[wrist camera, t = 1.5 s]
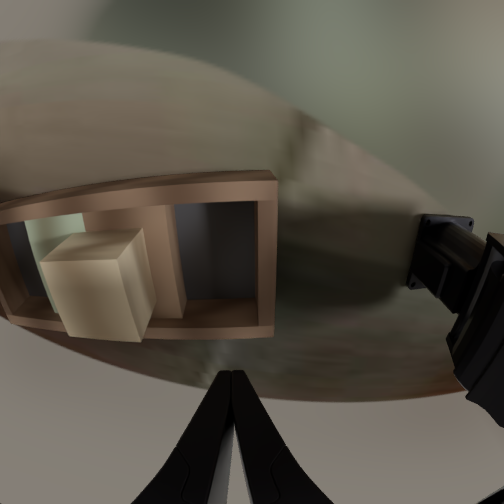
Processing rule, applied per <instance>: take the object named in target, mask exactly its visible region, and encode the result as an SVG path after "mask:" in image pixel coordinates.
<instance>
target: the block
mask: <svg viewBox="0 0 504 504" xmlns="http://www.w3.org/2000/svg"><path fill="white" fill-rule="evenodd" d="M40 265H41V268H42V271H43V274H44V277H45V279H46V282H47V285H48V288H49V290H50V293H51V296H52V298H53V301H54V303H55V306H56V308H57V310H58V313H59V315H60V317H61V319H62V322H63V324H64V326H65V328H66V330H67V333H68V335H69V336H73V337H81V338H91V339H101V340H113V341H127V342H142V339H143V336H144V333H145V331H146V328H147V325H148V322H149V320H150V317H151V314H152V312H153V309H154V307H155V304H156V301H157V299H156V294H155V290H154V285H153V281H152V276H151V271H150V266H149V261H148V256H147V251H146V245H145V239H144V233H143V228H131V229H117V230H103V231H91V232H79V233H73V234H72V235H70V236H69V237H68V238H67V239H66V240H64V241H63V242H62V243H61V244H60V245H58V246H57V247H56V248H55V249H54V250H52V251H51V252H50V253H49V254H48V255H47V256H46V257H44V258H43V259H42V260H41V261H40Z"/></svg>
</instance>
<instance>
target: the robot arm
mask: <svg viewBox="0 0 504 504" xmlns="http://www.w3.org/2000/svg"><path fill="white" fill-rule="evenodd" d="M427 220H428V221H427ZM426 221H427V223H426ZM473 225H474V220H473V219H472V218H471V217H465V216H446V215H424V216H423V217H422V218H421V222H420V227H419V232H418V237H417V242H416V247H415V251H414V255H413V260H412V264H411V268H410V272H409V275H408V279H407V283H406V285H407V287H408V288H409V289H410V290H413V289H421V288H427V289H428V290H429V291H430V292H431V293H432V294H433V295H434V296H435V297H436V298H439V299H440V300H441V301H442V303H443V304H444V305H445V306H446V307H447V308H448V309H449V310H450V311H451V312H452V313H453V314H454V313H457V314H458V317H457V319H456V322H455V324H454V326H453V328H452V330H451V332H449V333H448V335H447V337H446V342H447V344H448V347H449V350H450V353H451V357H452V360H453V363H454V366H455V369H454V371H453V372H454V375H455V377H456V378H457V380H458V382H459V383H460V384H461V385H462V386H463V387H464V389H466V390H467V391H468V394H467V395H466V396H465V397H466V399H467V400H469V401H471V402H474V403H476V404H478V405H479V406H481V407H482V408H483V409H485V410H486V411H487V412H488V413H489V414H490V415H491V417H492V418H493V419H494V420H495V422H496V423H497V424H498V425H499V426H500V427H503V428H504V234H499V233H491V232H488V234H487V238H486V241H487V242H486V241H484V240H482V239H481V238H480V237H478V236H477V235H475V234H474V233H472V229H473ZM234 424H235V431H236V436H237V442H238V447H239V452H240V457H241V462H242V466H243V472H244V477H245V481H246V486H247V490H248V495H249V499H250V503H251V504H334V503H333V502H332V501H331V500H330V499H329V498H328V497H327V496H326V495H325V494H324V493H323V492H322V491H321V490H320V489H319V488H318V487H317V485H316V484H315V483H314V482H313V481H312V480H311V479H310V478H309V477H308V475H307V474H306V473H305V472H304V471H303V469H302V468H301V467H300V466H299V464H298V463H297V461H296V460H295V458H294V457H293V455H292V454H291V452H290V450H289V449H288V447H287V446H286V444H285V443H284V441H283V439H282V437H281V436H280V434H279V432H278V431H277V429H276V427H275V425H274V424H273V422H272V420H271V419H270V417H269V415H268V413H267V412H266V410H265V408H264V406H263V405H262V403H261V401H260V399H259V397H258V395H257V394H256V392H255V390H254V388H253V386H252V384H251V383H250V381H249V379H248V377H247V375H246V373H245V372H244V371H243V370H233V371H232V372H231V371H229V370H223V371H219V372H218V373H217V375H216V377H215V379H214V381H213V382H212V384H211V386H210V388H209V389H208V391H207V393H206V395H205V397H204V398H203V400H202V402H201V404H200V405H199V407H198V409H197V411H196V412H195V414H194V416H193V417H192V419H191V421H190V423H189V424H188V426H187V428H186V429H185V431H184V433H183V434H182V436H181V438H180V440H179V441H178V443H177V445H176V447H175V448H174V449H173V451H172V453H171V454H170V456H169V458H168V459H167V461H166V462H165V464H164V465H163V467H162V468H161V469H160V470H159V472H158V473H157V474H156V476H155V477H154V478H153V480H152V481H151V482H150V483H149V484H148V485H147V486H146V487H145V489H144V490H143V491H142V492H141V493H140V494H139V495H138V497H137V498H136V499H135V500H134V501H133V502H132V503H131V504H226V503H227V494H228V485H229V475H230V466H231V456H232V447H233V437H234ZM0 504H1V503H0ZM476 504H504V486H503V487H501V488H500V489H498V490H497V491H495V492H493V493H492V494H490V495H488V496H487V497H485V498H484V499H482V500H481V501H479V502H478V503H476Z"/></svg>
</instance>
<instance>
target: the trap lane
mask: <svg viewBox="0 0 504 504" xmlns="http://www.w3.org/2000/svg"><path fill="white" fill-rule="evenodd" d="M277 221H278V180H277V179H276V177H275V176H274V175H273V174H272V172H271V171H270V170H251V171H222V172H203V173H188V174H175V175H164V176H154V177H144V178H135V179H127V180H119V181H112V182H104V183H98V184H91V185H85V186H79V187H73V188H67V189H62V190H57V191H52V192H47V193H42V194H37V195H33V196H28V197H24V198H19V199H15V200H11V201H7V202H3V203H0V302H1V304H2V306H3V308H4V310H5V313H6V315H7V317H8V319H9V321H10V323H11V324H16V325H22V326H28V327H34V328H40V329H47V330H55V331H62V332H67V330H66V328H65V326H64V324H63V322H62V319H61V317H60V315H59V313H58V310H57V308H56V306H55V303H54V301H53V298H52V296H51V293H50V290H49V288H48V285H47V282H46V279H45V277H44V274H43V271H42V268H41V265H40V261H41V260H42V259H43V258H44V257H46V256H47V255H48V254H49V253H50V252H51V251H52V250H54V249H55V248H56V247H57V246H58V245H60V244H61V243H62V242H63V241H64V240H66V239H67V238H68V237H69V236H70V235H72V234H73V233H79V232H91V231H103V230H117V229H131V228H143V233H144V239H145V245H146V251H147V256H148V261H149V266H150V271H151V276H152V281H153V285H154V290H155V294H156V299H157V301H156V304H155V307H154V309H153V312H152V314H151V317H150V320H149V322H148V325H147V328H146V331H145V333H144V336H143V338H149V339H242V338H263V337H274V320H275V295H276V264H277Z"/></svg>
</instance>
